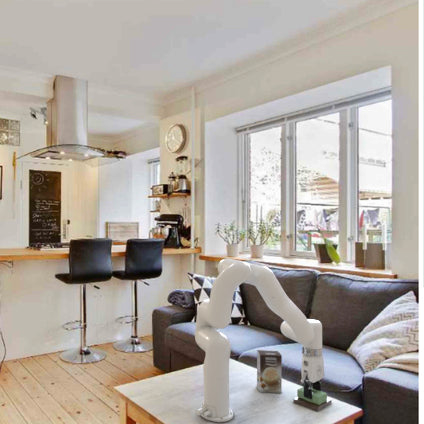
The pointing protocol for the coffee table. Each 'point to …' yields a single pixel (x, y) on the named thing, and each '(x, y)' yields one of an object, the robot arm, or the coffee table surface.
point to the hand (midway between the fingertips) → (312, 395)
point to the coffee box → (269, 371)
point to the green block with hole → (313, 396)
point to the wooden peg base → (310, 404)
